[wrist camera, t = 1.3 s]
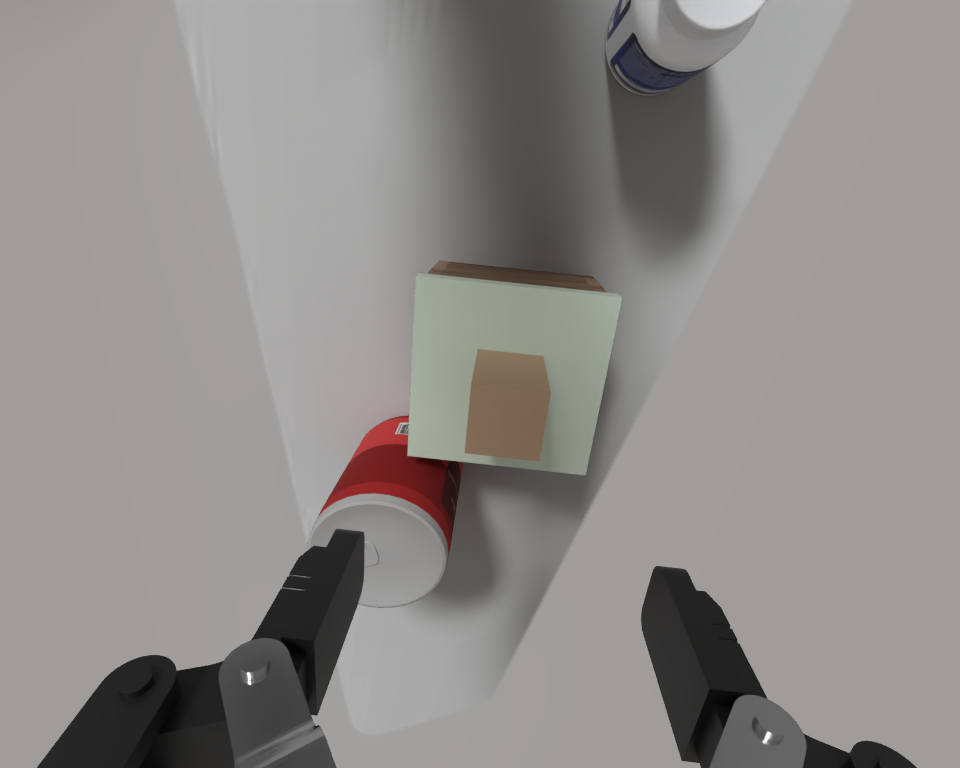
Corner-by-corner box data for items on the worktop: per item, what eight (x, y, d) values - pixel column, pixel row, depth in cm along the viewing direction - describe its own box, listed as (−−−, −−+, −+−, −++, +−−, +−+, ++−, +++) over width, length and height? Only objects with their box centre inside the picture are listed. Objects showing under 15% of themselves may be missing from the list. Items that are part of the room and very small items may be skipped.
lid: (418, 272, 26) (394, 296, 20) (618, 293, 26) (648, 323, 20) (410, 447, 30) (387, 507, 24) (583, 466, 30) (600, 531, 24)
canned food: (341, 436, 37) (278, 530, 27) (433, 395, 36) (404, 478, 25) (391, 513, 40) (351, 625, 29) (480, 478, 38) (470, 584, 28)
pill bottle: (710, 78, 27) (809, 25, 18) (614, 110, 28) (663, 74, 19) (697, -37, 26) (800, -159, 17) (594, 1, 26) (640, -96, 17)
